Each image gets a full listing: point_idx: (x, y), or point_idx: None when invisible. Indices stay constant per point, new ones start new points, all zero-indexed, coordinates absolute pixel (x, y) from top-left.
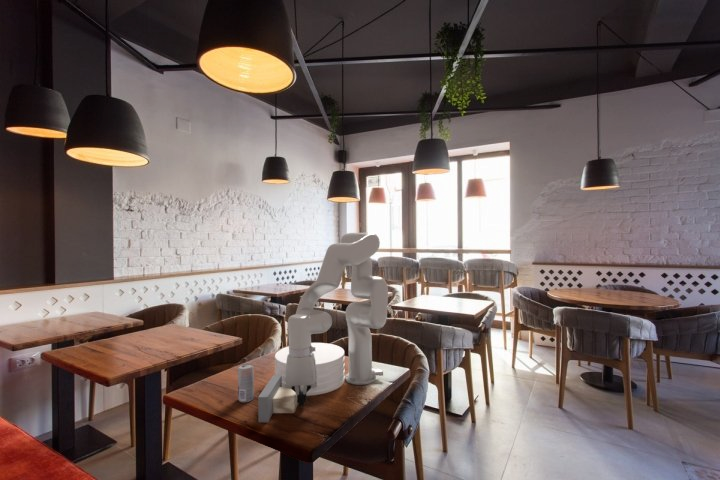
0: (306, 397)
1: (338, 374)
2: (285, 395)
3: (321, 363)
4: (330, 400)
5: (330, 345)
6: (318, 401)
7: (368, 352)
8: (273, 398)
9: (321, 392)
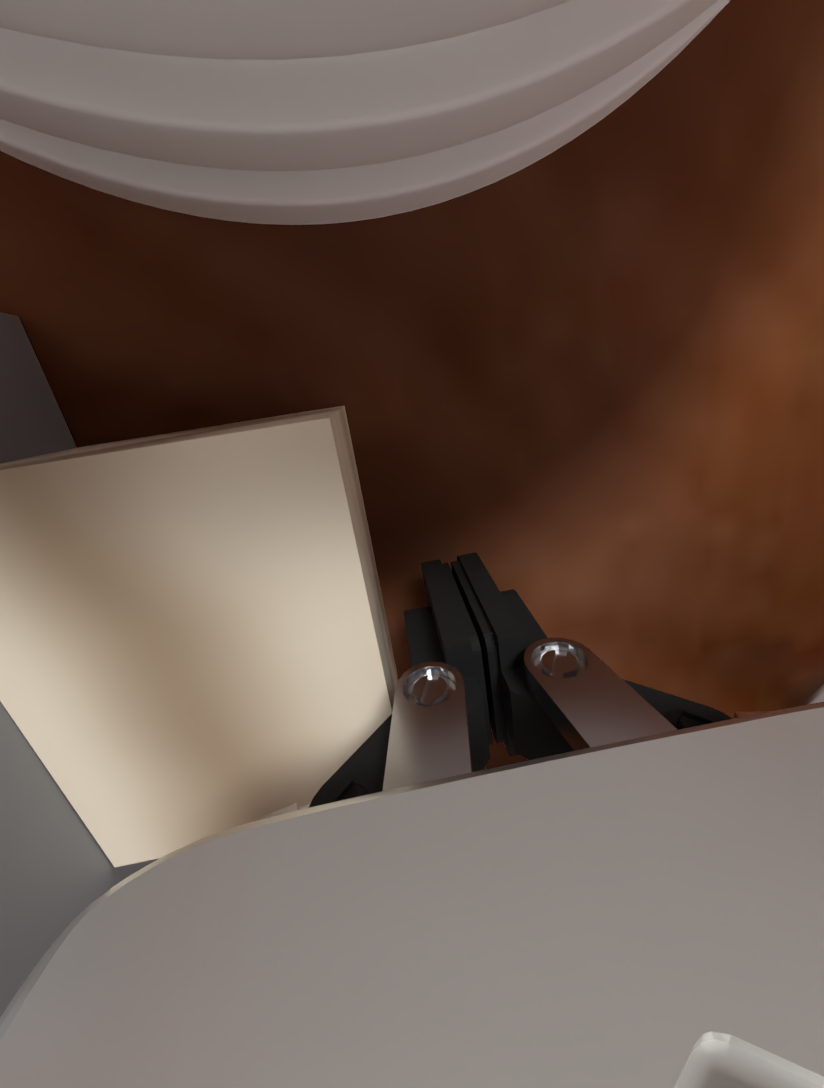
0: (524, 605)
1: None
2: (244, 766)
3: None
4: (738, 344)
5: None
6: (595, 395)
7: None
8: (120, 862)
9: (629, 94)
